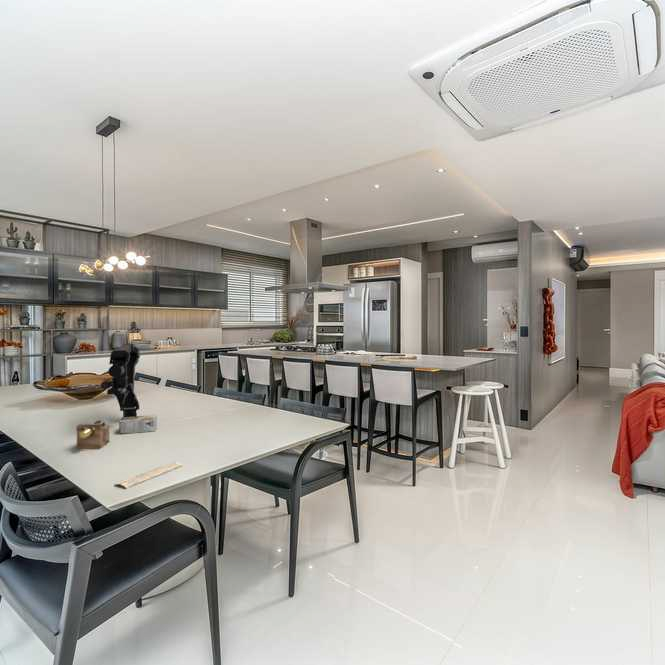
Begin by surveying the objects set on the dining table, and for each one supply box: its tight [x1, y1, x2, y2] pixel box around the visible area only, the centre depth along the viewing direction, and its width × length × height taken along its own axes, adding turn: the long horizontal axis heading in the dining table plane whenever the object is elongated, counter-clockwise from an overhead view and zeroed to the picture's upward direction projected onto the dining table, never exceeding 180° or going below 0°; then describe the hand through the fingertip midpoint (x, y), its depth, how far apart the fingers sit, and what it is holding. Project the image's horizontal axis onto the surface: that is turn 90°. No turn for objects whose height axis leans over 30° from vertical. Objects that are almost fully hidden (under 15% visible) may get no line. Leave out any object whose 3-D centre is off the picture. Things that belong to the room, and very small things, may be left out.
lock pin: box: [79, 419, 106, 439], centre depth 175 cm, size 17×4×4 cm, turn 9°
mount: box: [76, 423, 110, 451], centre depth 177 cm, size 10×9×10 cm
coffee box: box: [118, 414, 158, 435], centre depth 202 cm, size 9×6×16 cm
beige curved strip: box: [113, 461, 184, 490], centre depth 142 cm, size 24×7×2 cm, turn 153°
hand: (121, 405), depth 203 cm, fingers closed
